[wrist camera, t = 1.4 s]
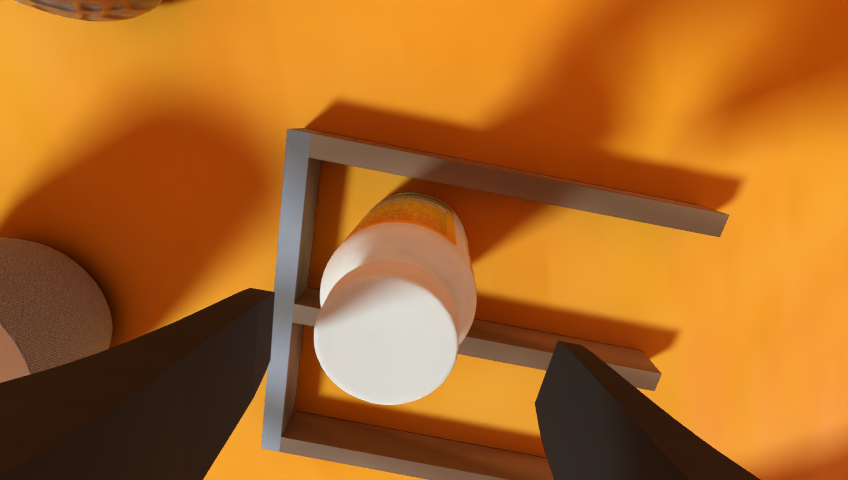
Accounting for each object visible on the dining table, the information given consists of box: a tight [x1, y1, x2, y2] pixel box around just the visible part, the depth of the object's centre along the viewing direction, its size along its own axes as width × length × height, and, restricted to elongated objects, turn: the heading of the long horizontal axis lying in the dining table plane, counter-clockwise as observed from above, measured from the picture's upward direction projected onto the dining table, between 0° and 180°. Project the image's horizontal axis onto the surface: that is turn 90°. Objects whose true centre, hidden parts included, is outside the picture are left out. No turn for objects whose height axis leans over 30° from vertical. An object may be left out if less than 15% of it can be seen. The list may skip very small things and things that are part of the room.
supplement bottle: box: [314, 193, 477, 405], centre depth 15 cm, size 5×5×10 cm
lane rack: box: [261, 128, 729, 480], centre depth 20 cm, size 17×19×2 cm
